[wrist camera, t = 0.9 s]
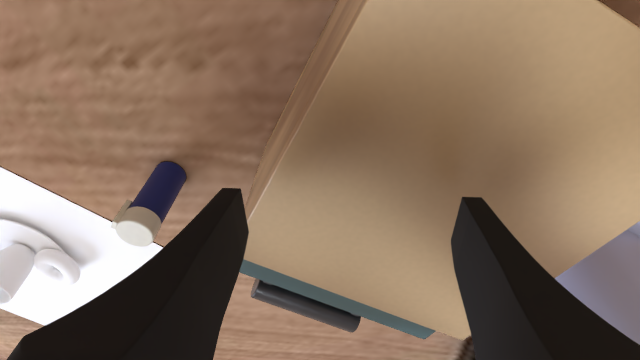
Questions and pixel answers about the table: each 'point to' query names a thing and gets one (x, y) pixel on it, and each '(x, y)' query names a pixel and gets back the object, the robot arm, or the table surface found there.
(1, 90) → the table surface
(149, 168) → the table surface
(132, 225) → the pen
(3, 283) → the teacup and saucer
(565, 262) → the cabinet
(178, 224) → the table surface
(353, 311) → the drawer
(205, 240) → the robot arm
